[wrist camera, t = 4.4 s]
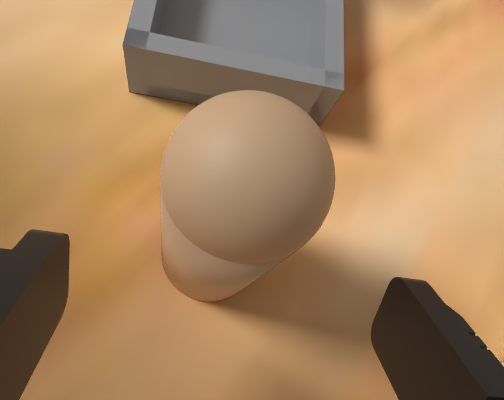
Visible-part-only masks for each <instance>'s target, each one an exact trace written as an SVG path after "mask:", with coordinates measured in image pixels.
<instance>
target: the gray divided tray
mask: <svg viewBox="0 0 504 400" xmlns="http://www.w3.org/2000/svg"><path fill="white" fill-rule="evenodd" d="M123 50H124V57H125V65H126V72H127V79H128V87H129V92H134V93H140V94H145V95H150V96H155V97H161V98H166V99H171V100H177V101H182V102H187V103H193V104H198V105H200V104H201V103H203V102H205V101H206V100H208V99H210V98H212V97H214V96H217V95H220V94H223V93H227V92H232V91H241V90H257V91H264V92H268V93H272V94H275V95H278V96H281V97H283V98H285V99H287V100H289V101H291V102H293V103H294V104H296V105H297V106H299V107H300V108H301V109H303V110H304V111H305V112H306V113H307V114H308V115H309V116H310V117H311V118H312V119H313V120H314V121H315V122H316V124H317V125H318V126H319V125H320V124H321V123H322V121H323V120H324V118H325V117H326V116H327V114H328V113H329V111H330V110H331V108H332V107H333V106H334V104H335V103H336V101H337V100H338V99H339V97H340V96H341V94H342V93H343V92H344V0H134V2H133V6H132V10H131V14H130V18H129V22H128V26H127V30H126V34H125V38H124V42H123Z"/></svg>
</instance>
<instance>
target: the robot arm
mask: <svg viewBox="0 0 504 400" xmlns="http://www.w3.org/2000/svg"><path fill="white" fill-rule="evenodd" d="M68 285H69V236H68V235H67V234H64V233H56V232H48V231H41V230H33V229H32V230H30V231H28V232H27V233H26V235H25V236H24V237H23V238H22V239H21V240H20V241H19V242H18V244H17V245H16V246H15V247H14V248H13V249H12V250H10V249H1V248H0V400H19V399H20V397H21V395H22V393H23V391H24V389H25V387H26V385H27V383H28V381H29V379H30V377H31V375H32V373H33V372H34V370H35V368H36V366H37V364H38V362H39V360H40V358H41V356H42V354H43V352H44V350H45V348H46V346H47V344H48V342H49V340H50V338H51V337H52V335H53V333H54V331H55V329H56V327H57V325H58V323H59V321H60V319H61V317H62V315H63V312H64V309H65V306H66V302H67V297H68ZM371 340H372V345H373V348H374V350H375V352H376V354H377V356H378V358H379V360H380V362H381V364H382V366H383V368H384V370H385V372H386V374H387V376H388V378H389V381H390V383H391V385H392V387H393V389H394V391H395V393H396V395H397V397H398V399H399V400H504V366H503V365H502V364H501V363H500V362H499V360H498V359H497V358H496V357H495V356H494V354H493V353H492V352H491V351H490V350H487V346H486V345H485V344H484V343H483V341H482V340H481V339H480V338H479V337H478V336H475V332H474V331H473V329H472V328H471V327H470V326H469V325H468V323H467V322H466V321H465V320H464V319H463V318H462V316H460V315H459V314H458V313H456V312H455V311H454V310H453V309H451V308H450V307H449V306H447V305H446V304H445V303H444V302H443V301H442V299H441V298H440V297H439V296H438V295H437V293H436V292H435V291H434V290H433V288H432V287H431V286H430V285H429V284H428V283H427V282H426V281H423V280H416V279H408V278H400V277H395V278H393V279H392V280H391V281H390V283H389V285H388V287H387V290H386V292H385V295H384V297H383V299H382V302H381V304H380V307H379V309H378V311H377V314H376V316H375V318H374V321H373V324H372V328H371Z"/></svg>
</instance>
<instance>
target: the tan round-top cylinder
mask: <svg viewBox="0 0 504 400" xmlns="http://www.w3.org/2000/svg"><path fill="white" fill-rule="evenodd" d="M334 189H335V167H334V161H333V156H332V152H331V149H330V146H329V144H328V142H327V140H326V138H325V136H324V134H323V133H322V131H321V129H320V128H319V126H318V125H317V124H316V122H315V121H314V120H313V119H312V118H311V117H310V116H309V115H308V114H307V113H306V112H305V111H304V110H303V109H301V108H300V107H299V106H297V105H296V104H294V103H293V102H291V101H289V100H287V99H285V98H283V97H281V96H278V95H275V94H272V93H268V92H264V91H257V90H241V91H232V92H227V93H223V94H220V95H217V96H214V97H212V98H210V99H208V100H206V101H205V102H203V103H201V104H200V105H198V106H197V107H195V108H194V109H193V110H191V111H190V112H189V113H188V114H187V115H186V116H185V117H184V118H183V119H182V120H181V122H180V123H179V124H178V125H177V126H176V128H175V130H174V131H173V133H172V134H171V136H170V138H169V140H168V143H167V145H166V147H165V150H164V153H163V157H162V162H161V170H160V202H161V246H162V263H163V267H164V270H165V273H166V275H167V277H168V279H169V280H170V282H171V283H172V284H173V285H174V286H175V288H177V289H178V290H179V291H180V292H181V293H183V294H184V295H186V296H188V297H190V298H193V299H196V300H200V301H208V302H212V301H219V300H224V299H226V298H229V297H231V296H233V295H235V294H236V293H238V292H239V291H240V290H242V289H243V288H245V287H246V286H247V285H249V284H250V283H252V282H253V281H254V280H256V279H257V278H259V277H260V276H262V275H263V274H264V273H266V272H267V271H269V270H270V269H271V268H273V267H274V266H276V265H277V264H279V263H280V262H281V261H283V260H284V259H286V258H287V257H288V256H290V255H291V254H293V253H294V252H295V251H297V250H298V249H300V248H301V247H302V246H304V245H305V244H306V243H307V242H308V241H309V240H310V239H311V238H312V237H313V236H314V235H315V233H316V232H317V231H318V229H319V228H320V227H321V225H322V223H323V221H324V220H325V218H326V216H327V214H328V212H329V209H330V206H331V204H332V199H333V195H334Z"/></svg>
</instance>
